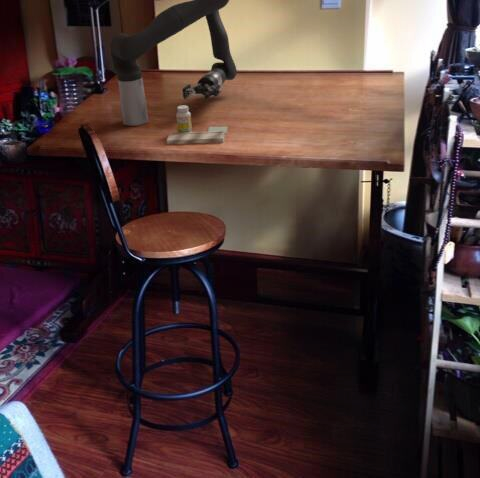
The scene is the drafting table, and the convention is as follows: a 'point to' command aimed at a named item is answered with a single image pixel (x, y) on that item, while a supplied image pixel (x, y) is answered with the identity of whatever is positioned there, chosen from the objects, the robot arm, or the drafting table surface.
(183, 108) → the supplement bottle
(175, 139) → the birch board
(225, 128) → the end pad
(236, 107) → the drafting table surface
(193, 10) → the robot arm
